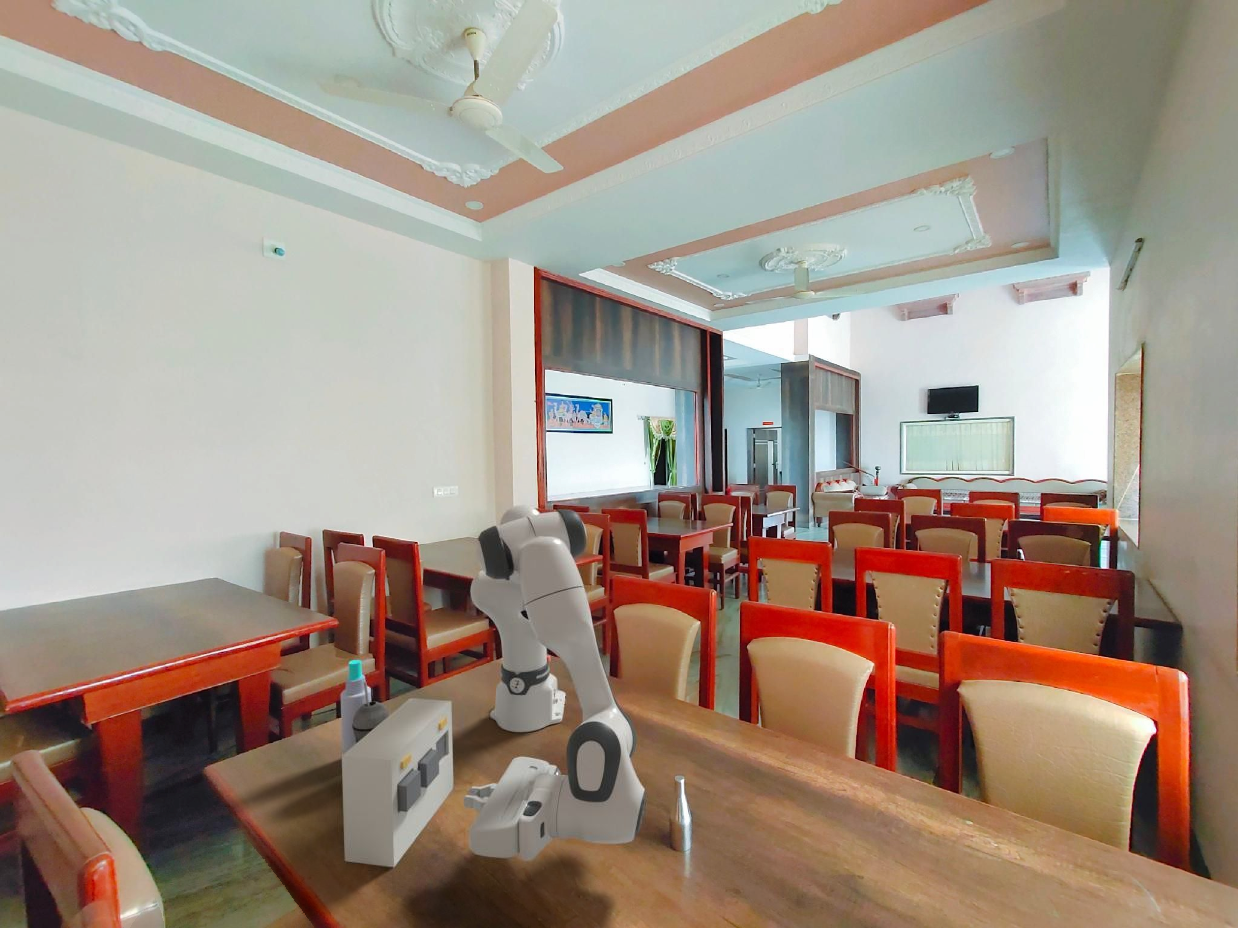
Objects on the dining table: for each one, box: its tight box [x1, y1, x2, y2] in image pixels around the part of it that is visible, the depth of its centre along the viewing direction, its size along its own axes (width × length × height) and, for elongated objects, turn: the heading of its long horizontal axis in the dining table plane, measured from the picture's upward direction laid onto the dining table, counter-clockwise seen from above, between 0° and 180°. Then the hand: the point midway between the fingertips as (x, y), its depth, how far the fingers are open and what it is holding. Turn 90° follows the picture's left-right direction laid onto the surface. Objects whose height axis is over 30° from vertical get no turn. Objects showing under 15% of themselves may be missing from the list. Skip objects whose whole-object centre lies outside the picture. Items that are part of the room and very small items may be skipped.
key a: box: [397, 770, 421, 812], centre depth 94 cm, size 4×4×4 cm
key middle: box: [418, 749, 439, 788], centre depth 100 cm, size 4×4×4 cm
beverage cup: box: [352, 681, 390, 743], centre depth 115 cm, size 7×7×20 cm
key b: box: [436, 734, 446, 760], centre depth 107 cm, size 4×4×4 cm
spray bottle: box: [340, 659, 372, 756], centre depth 122 cm, size 6×6×22 cm
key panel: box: [341, 697, 454, 868], centre depth 101 cm, size 21×9×18 cm, turn 170°
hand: (467, 796), depth 92 cm, fingers closed
